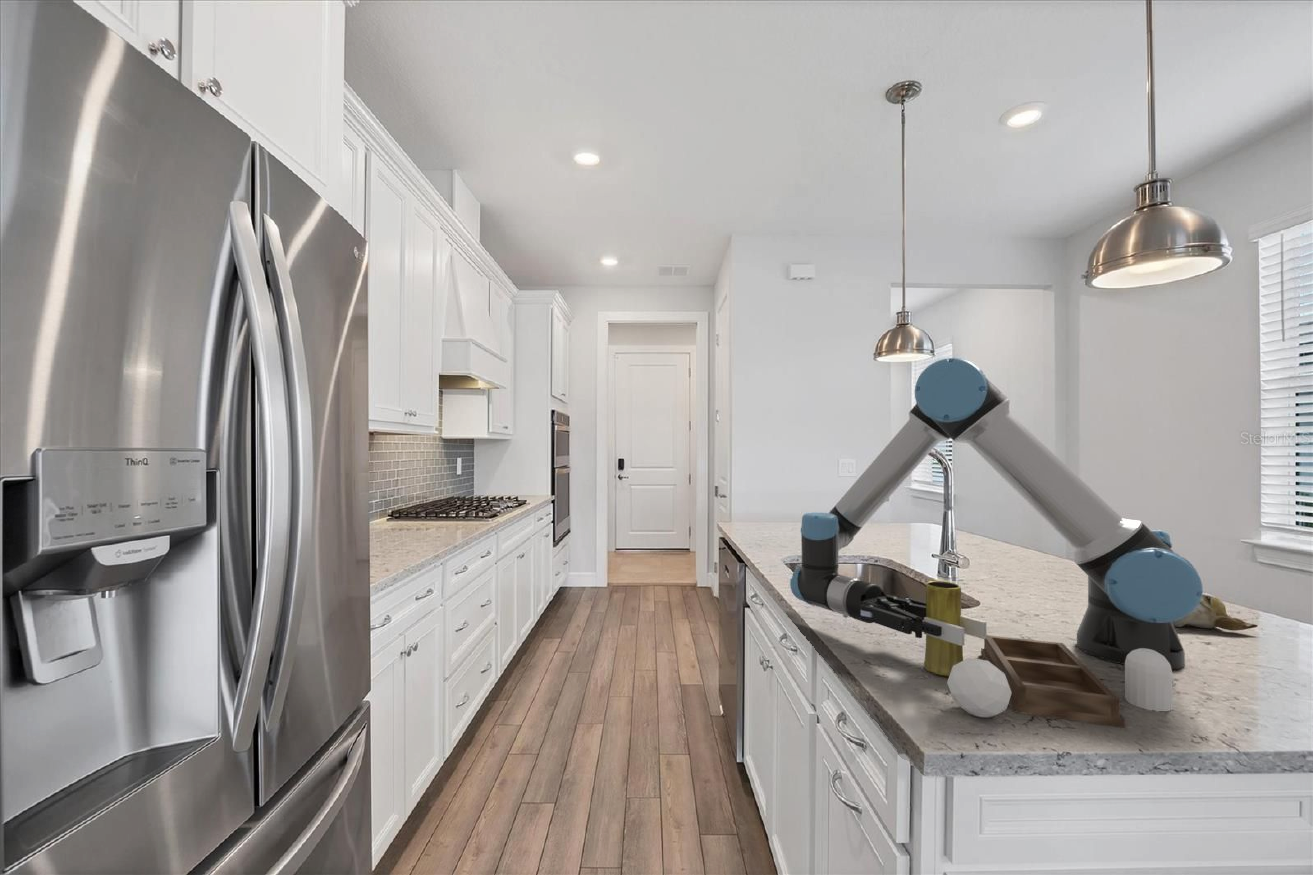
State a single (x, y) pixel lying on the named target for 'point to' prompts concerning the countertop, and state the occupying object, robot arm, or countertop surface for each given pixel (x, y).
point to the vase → (945, 608)
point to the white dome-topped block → (1148, 680)
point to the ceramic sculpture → (1212, 616)
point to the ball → (979, 687)
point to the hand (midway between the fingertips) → (974, 633)
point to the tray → (1051, 681)
